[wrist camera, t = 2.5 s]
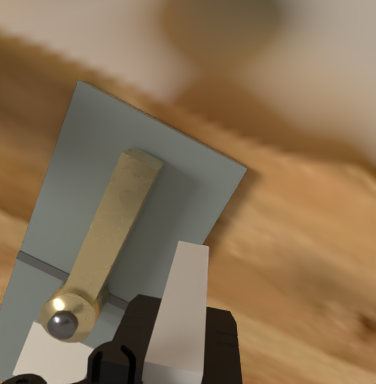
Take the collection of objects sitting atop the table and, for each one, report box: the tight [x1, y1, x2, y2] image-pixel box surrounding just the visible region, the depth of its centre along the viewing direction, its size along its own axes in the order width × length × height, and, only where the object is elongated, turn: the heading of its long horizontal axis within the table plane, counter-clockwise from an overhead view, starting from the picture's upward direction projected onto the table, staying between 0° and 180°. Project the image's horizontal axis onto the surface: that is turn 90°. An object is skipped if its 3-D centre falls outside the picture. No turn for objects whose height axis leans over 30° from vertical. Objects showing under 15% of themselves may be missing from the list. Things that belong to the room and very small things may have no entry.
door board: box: [0, 80, 247, 384], centre depth 21 cm, size 12×28×1 cm, turn 153°
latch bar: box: [39, 147, 165, 343], centre depth 17 cm, size 4×14×4 cm, turn 153°
